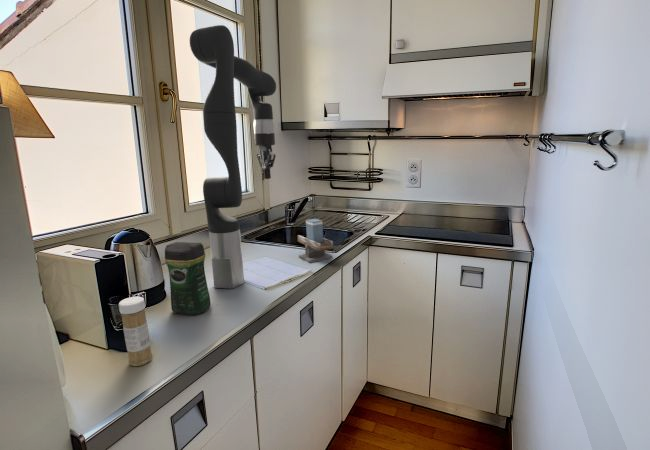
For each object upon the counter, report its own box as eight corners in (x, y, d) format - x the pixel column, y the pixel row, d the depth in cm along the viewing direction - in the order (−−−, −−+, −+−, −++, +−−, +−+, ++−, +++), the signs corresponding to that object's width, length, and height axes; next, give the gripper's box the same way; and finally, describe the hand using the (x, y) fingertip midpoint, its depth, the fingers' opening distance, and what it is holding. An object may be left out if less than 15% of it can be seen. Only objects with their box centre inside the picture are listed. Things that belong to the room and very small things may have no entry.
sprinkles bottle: (145, 352, 81) (136, 293, 78) (157, 359, 79) (148, 298, 76) (124, 362, 78) (113, 301, 75) (135, 370, 75) (125, 307, 72)
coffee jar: (215, 304, 104) (209, 239, 100) (198, 318, 96) (190, 247, 92) (185, 301, 106) (177, 237, 102) (166, 314, 99) (157, 245, 95)
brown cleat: (338, 260, 138) (337, 240, 136) (314, 265, 133) (313, 245, 131) (315, 250, 151) (315, 232, 150) (293, 254, 146) (292, 236, 144)
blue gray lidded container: (323, 241, 139) (322, 220, 138) (313, 243, 137) (312, 222, 136) (316, 239, 144) (315, 218, 142) (306, 240, 142) (305, 219, 140)
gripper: (248, 133, 146) (251, 178, 150) (261, 132, 135) (265, 180, 139) (266, 132, 149) (269, 176, 153) (281, 131, 139) (283, 179, 142)
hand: (267, 178), depth 146 cm, fingers closed
